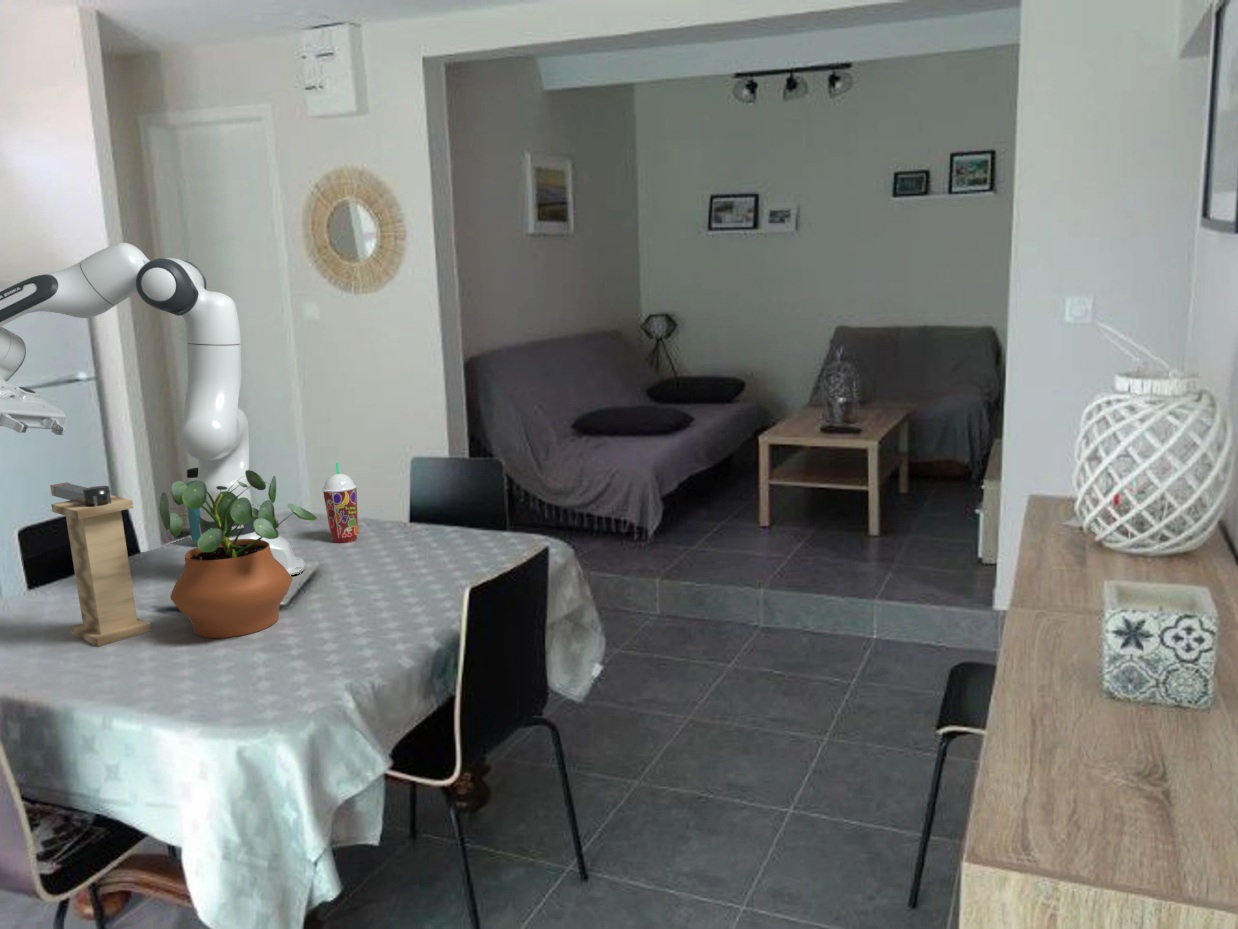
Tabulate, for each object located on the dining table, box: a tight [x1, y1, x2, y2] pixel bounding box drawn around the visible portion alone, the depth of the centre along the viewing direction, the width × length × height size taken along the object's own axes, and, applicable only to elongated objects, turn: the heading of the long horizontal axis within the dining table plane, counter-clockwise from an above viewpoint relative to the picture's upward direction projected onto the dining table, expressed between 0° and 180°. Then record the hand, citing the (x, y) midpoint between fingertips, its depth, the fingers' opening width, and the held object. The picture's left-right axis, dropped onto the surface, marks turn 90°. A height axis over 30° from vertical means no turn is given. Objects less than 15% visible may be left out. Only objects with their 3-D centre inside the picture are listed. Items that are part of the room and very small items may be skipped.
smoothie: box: [322, 462, 359, 544], centre depth 260 cm, size 8×8×20 cm
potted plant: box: [158, 469, 317, 639], centre depth 199 cm, size 23×28×30 cm
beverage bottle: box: [185, 467, 201, 543], centre depth 263 cm, size 6×7×20 cm
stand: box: [51, 494, 152, 648], centre depth 198 cm, size 12×10×26 cm
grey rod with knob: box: [49, 481, 111, 507], centre depth 198 cm, size 20×4×3 cm, turn 49°
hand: (43, 430), depth 211 cm, fingers open, 8 cm apart
